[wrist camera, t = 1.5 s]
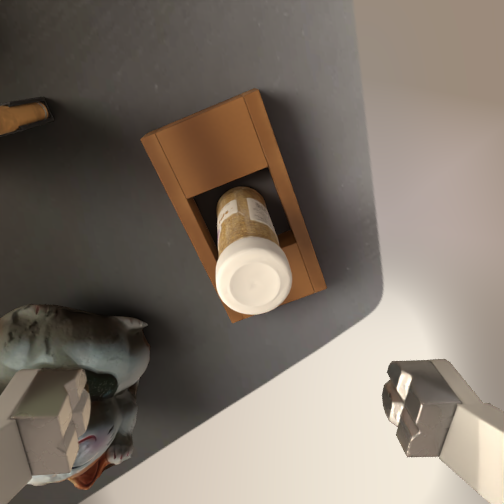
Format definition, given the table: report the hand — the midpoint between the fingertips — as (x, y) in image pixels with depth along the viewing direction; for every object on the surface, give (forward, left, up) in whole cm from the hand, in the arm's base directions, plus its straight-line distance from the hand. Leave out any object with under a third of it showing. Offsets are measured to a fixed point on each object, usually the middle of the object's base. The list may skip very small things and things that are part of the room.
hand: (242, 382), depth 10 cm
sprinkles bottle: (0, +4, -25) cm, 25 cm away
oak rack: (0, +4, -25) cm, 25 cm away
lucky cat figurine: (+20, +12, -25) cm, 34 cm away
